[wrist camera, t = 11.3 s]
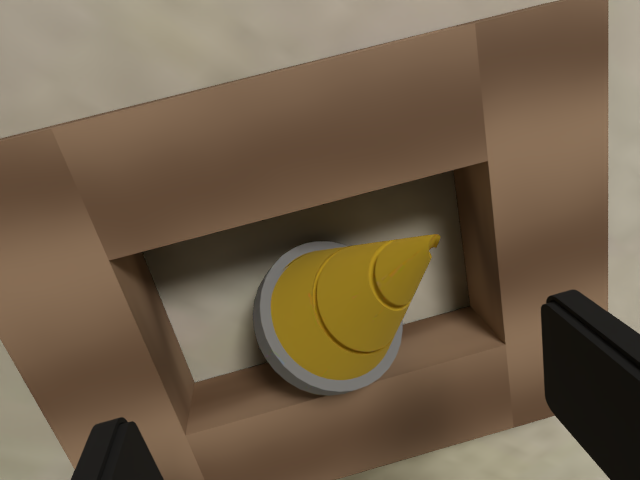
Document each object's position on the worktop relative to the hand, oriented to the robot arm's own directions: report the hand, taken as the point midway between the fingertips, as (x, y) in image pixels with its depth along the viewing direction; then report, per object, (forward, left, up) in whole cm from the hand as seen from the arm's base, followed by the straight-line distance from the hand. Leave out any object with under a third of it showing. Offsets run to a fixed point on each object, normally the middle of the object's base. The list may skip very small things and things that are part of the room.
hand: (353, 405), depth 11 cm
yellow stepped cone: (0, 0, -9) cm, 9 cm away
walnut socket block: (0, 0, -8) cm, 8 cm away
